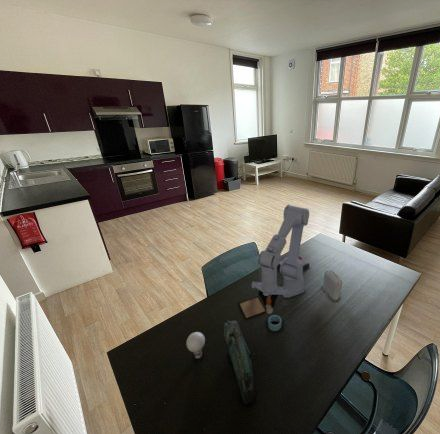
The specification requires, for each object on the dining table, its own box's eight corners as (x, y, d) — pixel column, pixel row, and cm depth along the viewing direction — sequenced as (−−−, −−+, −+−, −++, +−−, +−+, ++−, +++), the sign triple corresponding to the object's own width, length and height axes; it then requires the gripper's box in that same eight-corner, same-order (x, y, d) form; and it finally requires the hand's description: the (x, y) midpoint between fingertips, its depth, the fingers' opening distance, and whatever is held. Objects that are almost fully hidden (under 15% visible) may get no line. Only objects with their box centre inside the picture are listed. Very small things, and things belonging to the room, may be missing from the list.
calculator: (309, 262, 132) (289, 271, 124) (309, 269, 134) (288, 278, 126) (297, 253, 140) (276, 261, 132) (296, 259, 142) (276, 267, 134)
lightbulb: (198, 368, 83) (193, 347, 78) (185, 358, 86) (180, 338, 81) (211, 353, 88) (207, 333, 83) (199, 345, 91) (195, 325, 86)
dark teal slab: (225, 352, 88) (220, 313, 80) (242, 346, 91) (239, 307, 82) (240, 409, 72) (236, 368, 63) (260, 400, 74) (259, 359, 66)
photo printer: (340, 298, 113) (344, 278, 108) (333, 301, 111) (336, 280, 106) (328, 285, 121) (331, 265, 116) (321, 287, 120) (323, 267, 115)
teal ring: (277, 318, 103) (277, 313, 101) (283, 328, 98) (283, 323, 97) (266, 322, 101) (266, 317, 99) (271, 333, 96) (271, 327, 95)
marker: (271, 307, 100) (271, 296, 98) (273, 312, 98) (273, 300, 95) (265, 310, 99) (265, 298, 96) (267, 314, 97) (267, 302, 94)
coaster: (257, 297, 113) (257, 297, 113) (265, 311, 106) (265, 310, 106) (239, 304, 110) (239, 303, 110) (246, 318, 102) (246, 317, 102)
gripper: (247, 280, 90) (249, 306, 96) (283, 290, 86) (283, 317, 92) (255, 269, 96) (256, 295, 102) (289, 278, 92) (288, 304, 97)
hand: (269, 304), depth 97 cm, fingers closed on marker, 3 cm apart
